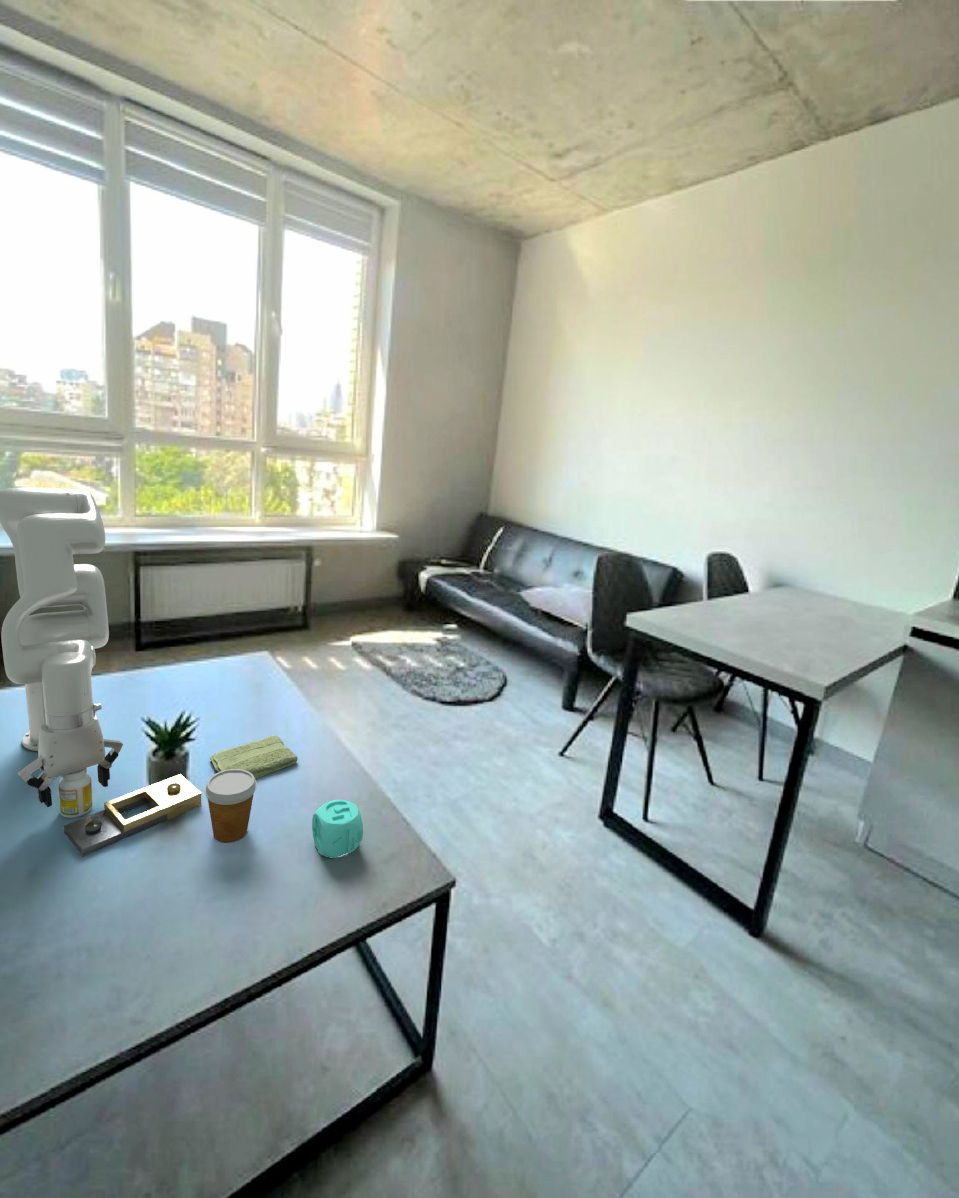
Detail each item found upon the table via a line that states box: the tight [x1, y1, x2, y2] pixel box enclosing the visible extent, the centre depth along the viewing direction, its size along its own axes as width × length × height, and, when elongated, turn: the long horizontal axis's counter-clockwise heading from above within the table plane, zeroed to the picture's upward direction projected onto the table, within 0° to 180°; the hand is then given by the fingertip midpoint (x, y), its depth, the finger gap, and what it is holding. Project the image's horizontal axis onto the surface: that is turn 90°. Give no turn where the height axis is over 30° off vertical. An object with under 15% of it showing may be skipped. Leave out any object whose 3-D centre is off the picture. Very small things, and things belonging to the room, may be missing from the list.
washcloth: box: [209, 735, 298, 779], centre depth 138 cm, size 13×18×3 cm
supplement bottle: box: [58, 768, 93, 819], centre depth 114 cm, size 5×5×10 cm
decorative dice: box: [311, 799, 364, 859], centre depth 115 cm, size 8×8×8 cm
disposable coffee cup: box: [204, 769, 258, 844], centre depth 113 cm, size 10×10×12 cm
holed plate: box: [63, 773, 202, 858], centre depth 115 cm, size 9×22×4 cm, turn 143°
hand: (76, 793), depth 114 cm, fingers open, 9 cm apart
